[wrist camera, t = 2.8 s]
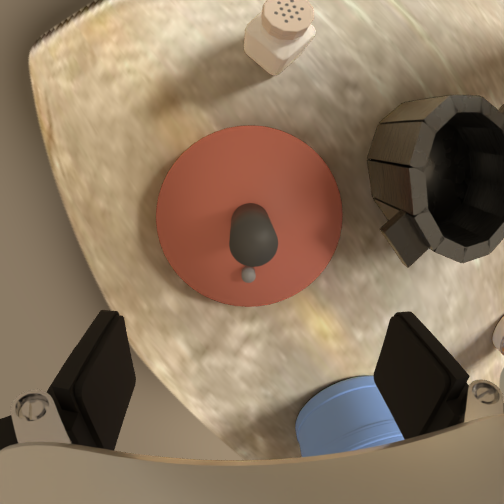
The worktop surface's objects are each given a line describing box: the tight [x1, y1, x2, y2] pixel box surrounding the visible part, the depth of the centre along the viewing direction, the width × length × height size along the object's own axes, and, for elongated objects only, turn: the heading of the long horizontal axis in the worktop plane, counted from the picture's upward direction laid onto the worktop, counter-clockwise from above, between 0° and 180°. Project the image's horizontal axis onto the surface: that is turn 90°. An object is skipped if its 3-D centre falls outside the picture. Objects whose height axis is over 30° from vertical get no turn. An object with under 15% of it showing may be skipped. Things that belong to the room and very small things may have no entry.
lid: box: [156, 126, 342, 307], centre depth 25 cm, size 16×16×8 cm
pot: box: [367, 95, 504, 268], centre depth 24 cm, size 19×14×8 cm
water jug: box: [295, 376, 405, 457], centre depth 25 cm, size 16×16×28 cm
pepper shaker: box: [244, 0, 316, 76], centre depth 19 cm, size 4×4×10 cm
